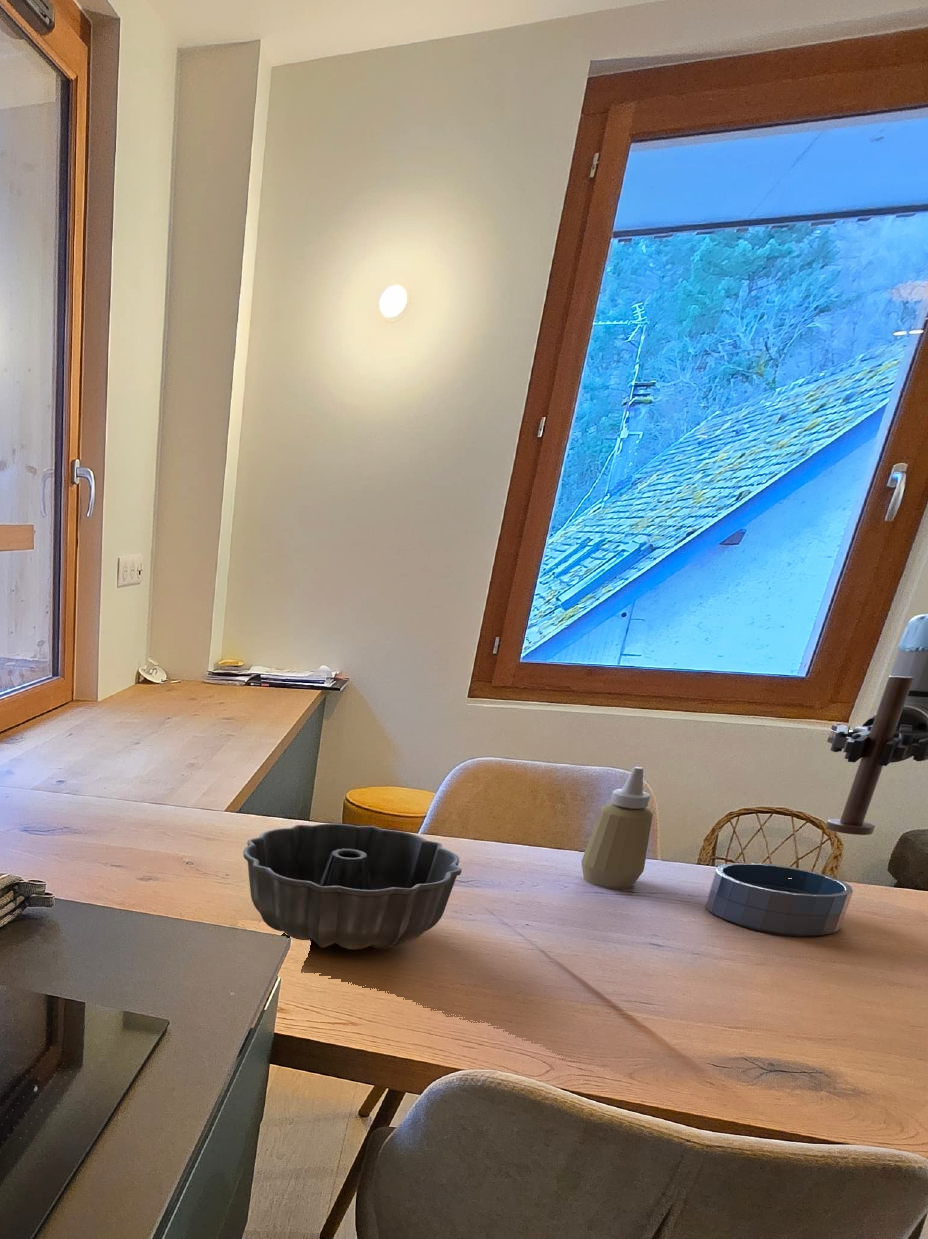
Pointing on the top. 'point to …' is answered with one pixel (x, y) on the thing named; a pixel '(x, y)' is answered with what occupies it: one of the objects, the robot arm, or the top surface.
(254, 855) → the bundt pan
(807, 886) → the bowl
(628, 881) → the squeeze bottle
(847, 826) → the stirring stick
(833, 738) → the robot arm
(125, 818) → the top surface
